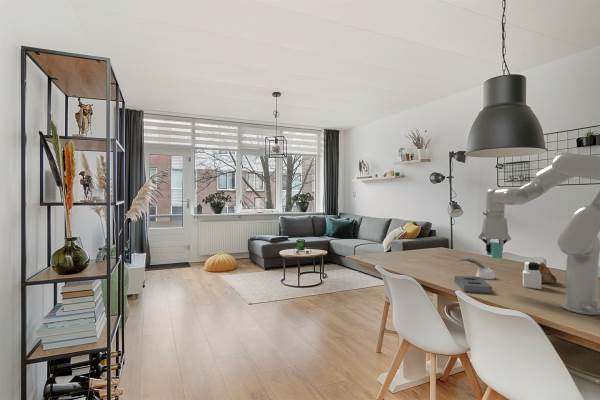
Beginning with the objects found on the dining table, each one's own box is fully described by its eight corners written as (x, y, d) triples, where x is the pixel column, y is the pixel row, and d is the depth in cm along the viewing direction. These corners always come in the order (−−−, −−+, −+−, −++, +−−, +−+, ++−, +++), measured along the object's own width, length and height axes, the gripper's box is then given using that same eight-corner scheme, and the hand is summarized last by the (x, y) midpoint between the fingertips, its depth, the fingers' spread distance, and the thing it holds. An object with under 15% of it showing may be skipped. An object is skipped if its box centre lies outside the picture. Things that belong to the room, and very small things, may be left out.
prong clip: (495, 254, 164) (495, 241, 164) (502, 258, 154) (503, 244, 154) (486, 254, 165) (486, 241, 165) (493, 258, 155) (493, 244, 155)
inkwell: (496, 279, 179) (497, 261, 179) (460, 277, 184) (460, 259, 184) (492, 276, 187) (492, 258, 187) (457, 273, 193) (457, 256, 193)
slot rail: (479, 282, 172) (479, 276, 172) (492, 293, 153) (492, 287, 153) (454, 281, 175) (454, 275, 175) (463, 291, 156) (463, 285, 156)
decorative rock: (533, 283, 171) (533, 262, 171) (526, 280, 177) (527, 260, 177) (558, 284, 170) (558, 263, 170) (551, 281, 176) (551, 260, 176)
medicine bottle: (539, 286, 166) (539, 262, 166) (541, 289, 160) (541, 264, 160) (522, 284, 170) (522, 260, 170) (523, 287, 164) (523, 263, 164)
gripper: (477, 214, 157) (476, 253, 158) (517, 215, 153) (516, 255, 154) (473, 213, 165) (472, 250, 165) (511, 214, 161) (510, 252, 161)
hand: (494, 252), depth 159 cm, fingers closed on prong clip, 4 cm apart
